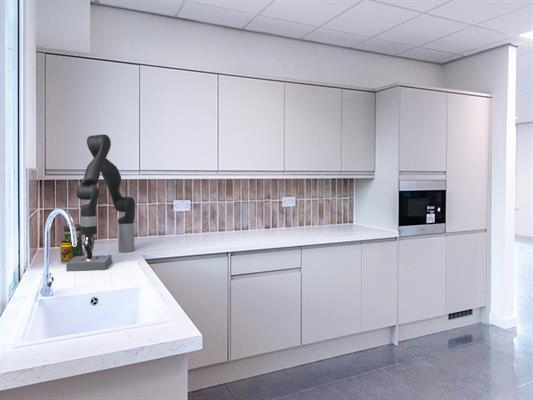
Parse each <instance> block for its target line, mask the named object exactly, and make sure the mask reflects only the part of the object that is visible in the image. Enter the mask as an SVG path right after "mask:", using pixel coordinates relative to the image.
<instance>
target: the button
mask: <svg viewBox="0 0 533 400" xmlns="http://www.w3.org/2000/svg"><path fill="white" fill-rule="evenodd" d="M83 260H84V261H93V260H96V257H92V258H91V259H87V257H86V258H84V259H83Z"/></svg>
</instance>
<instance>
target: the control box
mask: <svg viewBox="0 0 533 400" xmlns="http://www.w3.org/2000/svg"><path fill="white" fill-rule="evenodd" d="M86 257H87V255H83V256H75V257H74V258H73V259H71V260H70V261H69V262H67V263H65V266H66V267H65V269H66V272H89V271H106V270H107V269H108V267H109V266H110V265H111V264H112V263H111V262H112V255H111V254H109V255H107V254H106V255H103V254H102V255H101V254H100V255H92V257H96V260H93V261H84V260H83V259H84V258H86ZM110 263H111V264H110Z"/></svg>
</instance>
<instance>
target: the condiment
mask: <svg viewBox="0 0 533 400" xmlns="http://www.w3.org/2000/svg"><path fill="white" fill-rule="evenodd" d="M60 243H61V245H60V259H59V260H58V262H59V264H66V263H67V262H69V261H70V260H71V259H73V246H72V242H71V239H66V240H65V239H61V242H60Z"/></svg>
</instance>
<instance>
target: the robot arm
mask: <svg viewBox="0 0 533 400" xmlns="http://www.w3.org/2000/svg"><path fill="white" fill-rule="evenodd" d="M86 145H87V148H88V151H89V152H90V153H91V155H92V157H93V159H92V160H91V161H90V162H89V163H88V165H87V167H86V169H85V172H84V177H83V179H82V181H80V183H79V184H78V187H77V188H76V197H77V199H79V200H83V201H84V200H85V201H86V200H87V201H88V200H89V203H87V204H86V203H85V204H82V205H81V206H80V225H81V236H82V235H83V236H84V238H83V241H84V242H83V243H82V245H83V247H84V251H85V252H86V256H87V259H91V258H92V256H93V250H94V246H95V239H96V238H95V237H94V236H95V235H97V234H98V222H97V220H98V219H97V204H98V201H99V196H100V190H99V188H98V187H97V186H95V185H97V184H98V183H99V179H100V177H101V176H102V178H103V180H104V182H105V185H106V187H107V190H108V192H109V194H110V196H111V200H112V204H113V206H114V208H115V210H116V211H118V212H120V213H124V215H123V216H122V217H119V218H118V219H117V237H118V238H117V241H118V243H117V244H118V247H117V248H118V252H120V253H130V251H131V252H134V251H135V215H136V201H135V198H133V197H132V196H122V194H121V192H120V186H121V183H122V176H121V173H120V171H119V169H118V167H117V166H116V165H115V164H114V163H113V162H112V161H110V160H109V159H108V158H107V156H108V154H109V152H110V150H111V146H112V141H111V138H110V137H109V135H107V134H95V135H89V136H88V137H87V139H86Z"/></svg>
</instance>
